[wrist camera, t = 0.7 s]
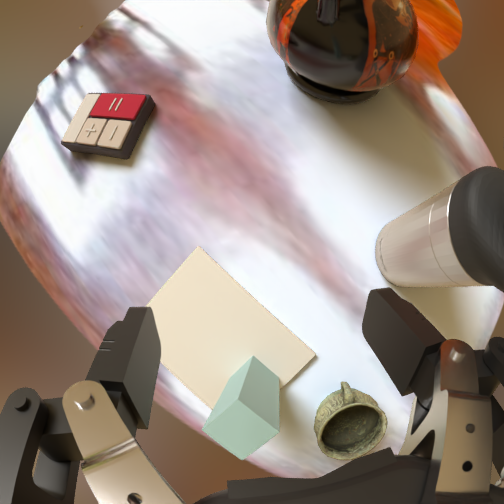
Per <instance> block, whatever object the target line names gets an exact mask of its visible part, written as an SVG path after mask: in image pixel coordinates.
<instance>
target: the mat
mask: <svg viewBox="0 0 504 504" xmlns="http://www.w3.org/2000/svg"><path fill="white" fill-rule="evenodd" d="M146 307H151V308H152V311H153V314H154V319H155V323H156V327H157V330H158V334H159V338H160V342H161V359H160V362H161V363H162V364H163V365H164V366H165V367H166V368H167V369H168V370H169V371H170V372H171V373H172V374H173V375H174V376H175V377H176V378H177V379H178V380H179V381H181V382H182V383H183V384H184V385H185V386H186V387H187V388H188V389H189V390H190V391H191V392H192V393H193V394H195V395H196V396H197V397H198V398H199V399H200V400H201V401H202V402H204V403H205V404H206V405H207V406H208V407H209V408H211V409H212V410H213V408H214V406H215V405H216V403H217V401H218V399H219V397H220V395H221V393H222V392H223V390H224V388H225V386H226V384H227V382H228V380H229V378H230V377H231V376H232V375H233V374H234V373H235V372H236V371H238V370H239V369H240V368H241V367H242V366H243V365H244V364H245V363H246V362H247V361H248V360H249V359H250V358H251V357H252V356H255V357H256V358H257V359H258V360H259V361H260V362H261V363H263V364H264V365H265V366H266V367H267V368H268V369H270V370H271V371H272V372H273V373H274V374H275V375H277V376H278V377H279V390H280V389H281V388H282V387H283V386H284V385H285V384H286V383H288V382H289V381H290V380H291V379H292V378H293V377H294V376H295V375H296V374H297V373H298V372H299V371H300V370H301V369H302V368H303V367H304V366H305V365H306V364H307V363H308V362H309V361H310V360H311V359H312V358H313V357H314V356H315V355H316V353H315V352H314V351H313V350H311V349H310V348H309V347H308V346H307V345H306V344H305V343H304V342H302V341H301V340H300V339H299V338H298V337H297V336H296V335H295V334H293V333H292V332H291V331H290V330H289V329H288V328H287V327H286V326H284V325H283V324H282V323H281V322H280V321H279V320H278V319H277V318H276V317H275V316H273V315H272V314H271V313H270V312H269V311H268V310H267V309H266V308H265V307H264V306H262V305H261V304H260V303H259V302H258V301H257V300H256V299H255V298H254V297H253V296H252V295H250V294H249V293H248V292H247V291H246V290H245V289H244V288H243V287H242V286H241V285H240V284H239V283H238V282H237V281H235V280H234V279H233V278H232V277H231V276H230V275H229V274H228V273H227V272H226V271H225V270H224V269H223V268H222V267H221V266H220V265H219V264H217V263H216V262H215V261H214V260H213V259H212V258H211V257H210V256H209V255H208V254H207V253H206V252H205V251H204V250H203V249H202V248H201V247H199V246H198V247H197V248H196V249H195V250H194V251H193V252H192V254H191V255H190V256H189V257H188V258H187V259H186V260H185V261H184V263H183V264H182V265H181V266H180V267H179V268H178V269H177V271H176V272H175V273H174V274H173V275H172V276H171V277H170V279H169V280H168V281H167V282H166V283H165V284H164V285H163V287H162V288H161V289H160V290H159V291H158V292H157V294H156V295H155V296H154V297H153V298H152V300H151V301H150V302H149V303H148V304H147V305H146Z"/></svg>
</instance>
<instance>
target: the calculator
mask: <svg viewBox="0 0 504 504" xmlns="http://www.w3.org/2000/svg"><path fill="white" fill-rule="evenodd" d="M154 106H155V103H154V101H153V99H152V98H151V96H150V95H146V94H127V93H88V94H87V95H86V96H85V98H84V100H83V102H82V103H81V105H80V107H79V108H78V110H77V112H76V114H75V116H74V118H73V119H72V121H71V123H70V125H69V127H68V129H67V131H66V133H65V135H64V137H63V139H62V141H61V144H62V145H63V146H65V147H66V148H68V149H69V150H70V151H75V152H82V153H84V152H86V153H92V154H98V155H104V156H110V157H116V158H122V159H128V158H129V157H130V155H131V153H132V151H133V148H134V146H135V144H136V142H137V140H138V138H139V136H140V134H141V131H142V129H143V127H144V125H145V123H146V121H147V119H148V117H149V115H150V114H151V112H152V110H153V108H154Z"/></svg>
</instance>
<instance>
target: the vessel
mask: <svg viewBox="0 0 504 504" xmlns="http://www.w3.org/2000/svg"><path fill="white" fill-rule="evenodd" d="M386 428H387V419H386V416H385V413H384V412H383V411H382V410H381V409H380V408H379V407H378V404H377V402H376V401H375V400H374V399H373V398H372V397H371V396H370V395H367V394H365V393H362V392H361V391H358V390H356V389H351V388H350V386H349V384H348V383H347V382H341V389H340V390H338V391H335V392H333V393H331V394H330V395H328V396H327V397H326V398H325V399H324V400H323V401H322V402H321V404H320V406H319V408H318V409H317V414H316V417H315V423H314V430H315V433H316V436H317V441H318V446H319V447H320V449H321V451H322V452H323V453H324V454H326V455H327V456H328V457H331V458H335V459H338V460H349V459H351V460H353V459H354V458H357V457H360V456H362V455H364V454H366V453H367V452H369V451H370V450H371V449H372V448H374V447H375V446H376V445H377V444H378V443H379V442H380V440H381V439H382V438H383V436H384V434H385V431H386Z"/></svg>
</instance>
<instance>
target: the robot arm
mask: <svg viewBox="0 0 504 504" xmlns="http://www.w3.org/2000/svg"><path fill="white" fill-rule="evenodd" d="M375 256H376V261H377V265H378V267H379V269H380V271H381V273H382V274H383V276H384V277H385V278H386V279H387V280H388V281H389V282H391V283H393V284H394V285H397V286H400V287H468V286H495V287H496V288H497V289H499V290H500V291H502V292H504V171H503V170H501V169H499V168H496V167H491V166H486V167H481V168H478V169H476V170H474V171H472V172H471V173H469V174H467V175H466V176H464V177H463V178H461V179H460V180H458V181H457V182H455V183H454V184H452V185H450V186H449V187H447V188H446V189H444V190H443V191H441V192H440V193H438V194H436V195H435V196H433V197H431V198H430V199H428V200H426V201H425V202H423V203H421V204H420V205H418V206H416V207H415V208H413V209H411V210H410V211H408V212H406V213H405V214H403V215H401V216H399V217H398V218H396V219H394V220H393V221H391V222H389V223H388V224H387V225H385V226H384V228H383V229H382V230H381V232H380V233H379V235H378V238H377V241H376V247H375ZM362 331H363V335H364V338H365V339H366V341H367V342H368V344H369V345H370V347H371V348H372V350H373V351H374V353H375V354H376V356H377V358H378V359H379V361H380V362H381V364H382V365H383V367H384V368H385V370H386V372H387V373H388V375H389V376H390V378H391V380H392V381H393V383H394V384H395V386H396V388H397V389H398V391H399V392H400V394H401V396H405V395H408V394H410V393H413V392H414V393H415V395H416V396H415V398H414V400H413V403H412V408H411V414H410V419H409V424H408V429H407V433H406V437H405V441H404V444H403V446H402V448H401V450H400V452H399V454H398V455H394V454H393V452H392V450H391V448H390V447H389V448H386V449H383V450H381V451H378V452H375V453H372V454H369V455H366V456H363V457H360V458H357V459H354V460H353V461H351V462H349V463H347V464H345V465H344V466H342V467H340V468H338V469H336V470H334V471H332V472H330V473H328V474H326V475H324V476H322V477H319V478H314V479H303V478H279V477H267V478H258V479H247V480H231V481H227V486H228V489H226V490H222V491H219V492H216V493H213V494H211V495H209V496H206V497H204V498H202V499H200V500H199V501H197V502H195V503H194V504H504V411H503V409H502V408H501V406H500V405H499V403H498V402H497V400H496V399H495V398H494V396H493V395H492V394H493V393H494V391H495V390H496V388H497V387H498V385H499V384H500V382H501V384H502V385H503V386H504V338H501V337H494V338H491V339H490V341H489V343H488V345H487V347H486V349H485V350H473V349H472V348H471V347H470V346H469V345H468V344H467V343H465V342H463V341H461V340H457V339H449V340H446V339H445V338H444V337H443V336H442V335H441V333H440V332H439V331H438V330H437V329H436V328H435V327H434V326H433V325H432V324H431V323H430V322H429V321H428V320H426V318H425V317H424V316H423V315H422V314H421V313H419V311H418V310H417V309H416V308H415V307H414V306H413V305H412V304H411V303H409V302H407V301H406V300H404V299H402V298H400V297H399V296H398V295H397V294H396V293H395V292H394V291H393V290H392V289H391V288H381V289H374V290H371V291H370V293H369V296H368V300H367V305H366V310H365V314H364V318H363V323H362ZM160 359H161V342H160V338H159V334H158V330H157V327H156V323H155V319H154V314H153V311H152V308H151V307H130V308H129V309H128V311H127V314H126V316H125V318H124V320H123V321H117V322H116V323H115V324H113V325H112V326H111V327H110V328H109V329H108V331H107V333H106V335H105V337H104V339H103V342H102V343H101V345H100V347H99V350H98V352H97V354H96V356H95V358H94V361H93V363H92V365H91V368H90V370H89V372H88V375H87V377H86V379H85V381H80V382H77V383H75V384H74V385H72V386H71V387H70V388H68V390H67V391H66V392H65V394H64V396H63V397H62V398H53V399H44V400H42V399H41V398H40V396H39V395H38V393H37V392H36V391H35V390H33V389H31V388H20V389H18V390H16V391H14V392H13V393H12V394H11V395H10V396H9V397H8V399H7V401H6V403H5V405H4V407H3V410H2V412H1V414H0V504H74V497H75V489H76V482H77V476H78V470H79V464H80V460H84V463H82V464H81V468H82V471H83V473H84V476H85V478H86V480H87V482H88V484H89V485H90V488H91V489H92V491H93V493H94V495H95V496H96V498H97V500H98V502H99V504H186V503H185V502H184V501H183V500H182V499H181V498H180V496H179V495H178V494H177V493H176V492H175V491H174V490H173V488H172V487H171V486H170V485H169V484H168V483H167V481H166V480H165V479H164V478H163V476H162V475H161V474H160V472H159V471H158V470H157V469H156V467H155V466H154V465H153V463H152V462H151V461H150V459H149V458H148V456H147V455H146V454H145V452H144V451H143V449H142V448H141V446H140V445H139V444H138V442H137V440H136V439H135V435H136V430H137V428H138V429H148V425H149V419H150V413H151V407H152V401H153V395H154V390H155V384H156V379H157V374H158V369H159V364H160ZM38 449H39V450H40V453H39V456H38V460H37V464H36V469H35V473H34V477H32V469H33V466H34V462H35V458H36V454H37V451H38ZM492 462H493V464H494V465H495V468H496V469H497V472H498V474H499V476H500V478H501V479H500V480H498V481H497V482H496V484H495V485H493V484H490V478H491V467H492Z"/></svg>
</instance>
